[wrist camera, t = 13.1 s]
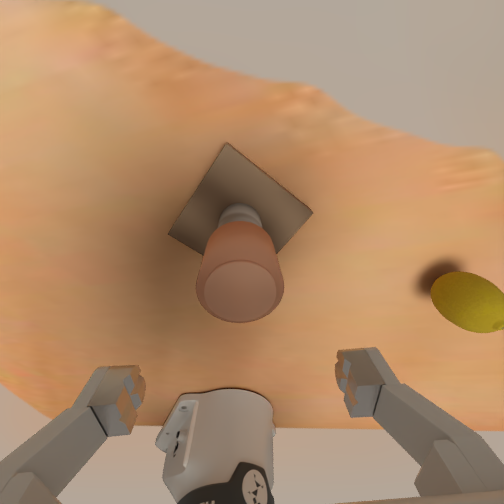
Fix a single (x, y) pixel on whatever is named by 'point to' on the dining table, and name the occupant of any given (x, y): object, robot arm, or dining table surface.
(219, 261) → the cap
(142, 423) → the dining table surface
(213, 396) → the robot arm
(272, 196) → the stud base
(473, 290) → the lemon
